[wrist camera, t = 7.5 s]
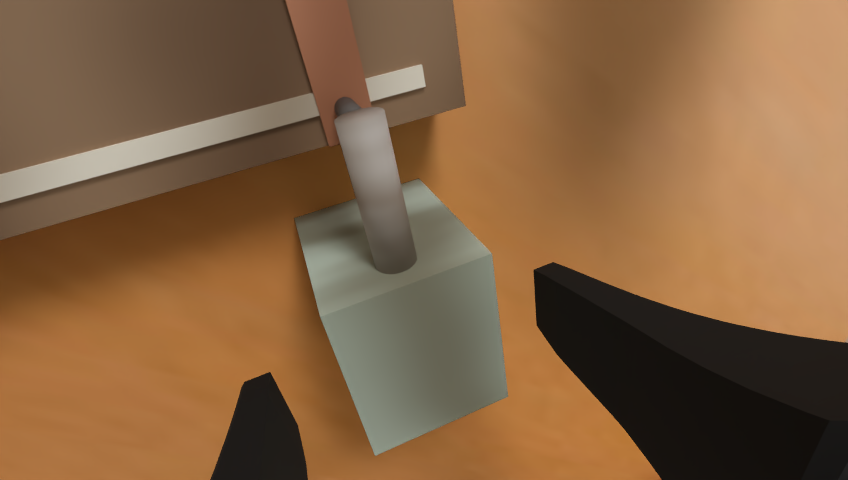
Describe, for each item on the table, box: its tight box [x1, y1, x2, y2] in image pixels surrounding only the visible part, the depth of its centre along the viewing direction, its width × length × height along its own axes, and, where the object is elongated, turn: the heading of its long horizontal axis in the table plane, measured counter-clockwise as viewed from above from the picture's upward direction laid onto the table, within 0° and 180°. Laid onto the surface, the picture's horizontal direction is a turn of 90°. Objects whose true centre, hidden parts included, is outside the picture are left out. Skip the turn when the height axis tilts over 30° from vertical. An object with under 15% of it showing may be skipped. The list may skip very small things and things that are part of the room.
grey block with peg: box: [294, 97, 508, 456], centre depth 12 cm, size 4×8×5 cm, turn 11°
